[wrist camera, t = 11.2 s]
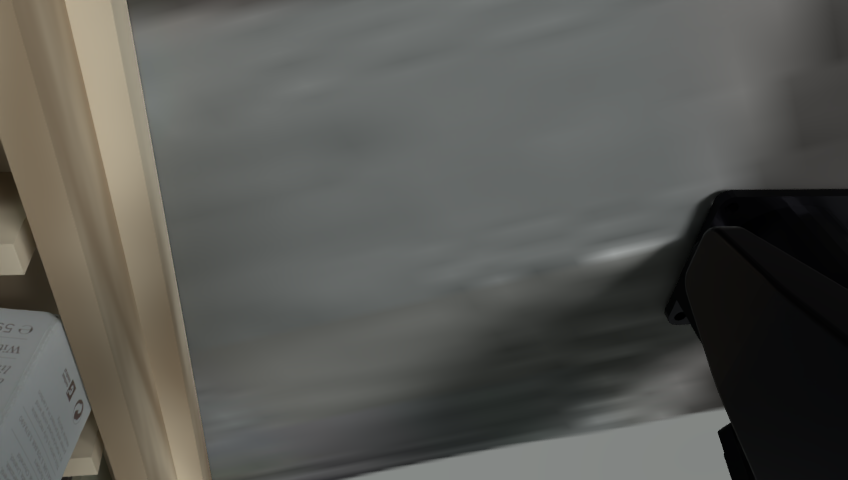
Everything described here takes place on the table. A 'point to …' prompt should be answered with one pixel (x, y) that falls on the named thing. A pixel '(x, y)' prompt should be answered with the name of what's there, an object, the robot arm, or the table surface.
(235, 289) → the table surface
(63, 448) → the skincare box
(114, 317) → the rail
